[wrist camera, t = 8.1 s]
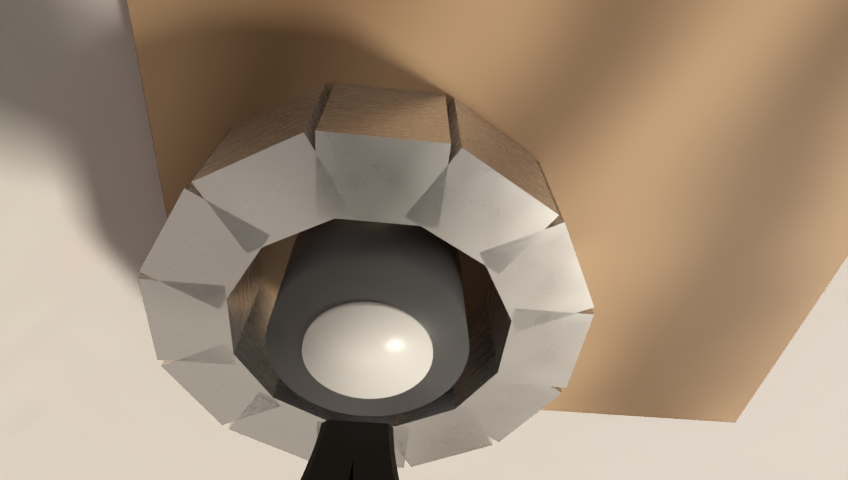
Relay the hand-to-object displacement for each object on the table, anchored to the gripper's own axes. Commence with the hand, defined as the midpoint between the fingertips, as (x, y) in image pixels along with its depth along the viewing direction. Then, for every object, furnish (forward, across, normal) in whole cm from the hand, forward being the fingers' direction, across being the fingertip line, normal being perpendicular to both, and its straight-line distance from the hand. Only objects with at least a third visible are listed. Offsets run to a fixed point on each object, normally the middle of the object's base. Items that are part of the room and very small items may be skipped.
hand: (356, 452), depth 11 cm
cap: (+6, 0, 0) cm, 6 cm away
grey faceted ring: (+6, 0, 0) cm, 6 cm away
